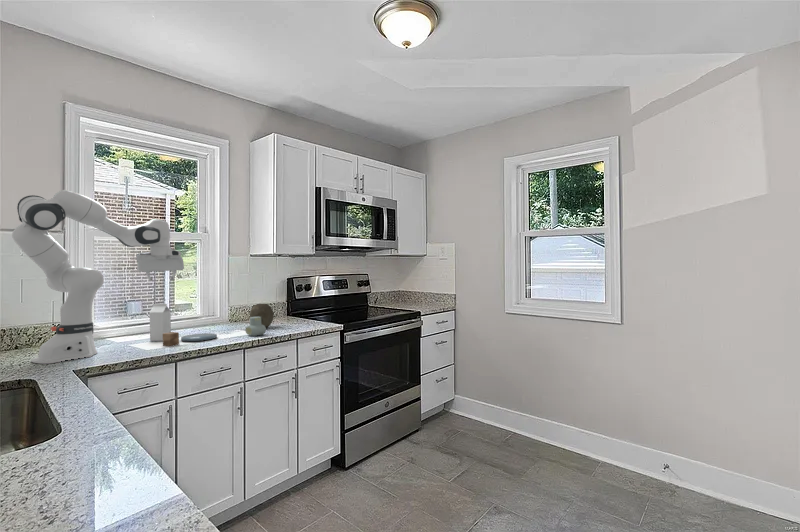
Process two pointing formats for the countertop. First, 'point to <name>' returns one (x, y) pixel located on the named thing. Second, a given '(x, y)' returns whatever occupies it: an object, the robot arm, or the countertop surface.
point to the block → (170, 338)
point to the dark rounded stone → (263, 313)
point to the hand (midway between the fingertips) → (161, 280)
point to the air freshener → (255, 327)
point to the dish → (198, 337)
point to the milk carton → (159, 321)
